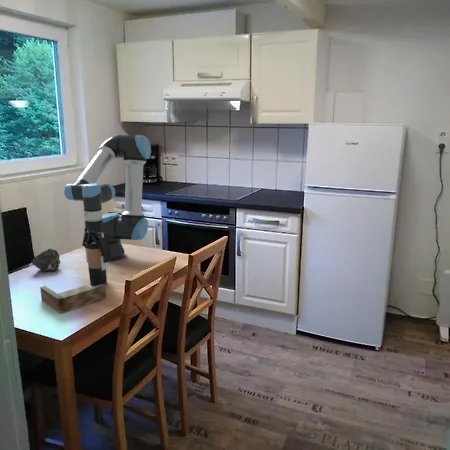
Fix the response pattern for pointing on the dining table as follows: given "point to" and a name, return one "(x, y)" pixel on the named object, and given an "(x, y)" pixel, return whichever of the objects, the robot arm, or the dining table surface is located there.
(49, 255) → the rock
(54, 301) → the wooden l-shaped block
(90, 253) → the travel mug
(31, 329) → the dining table surface
